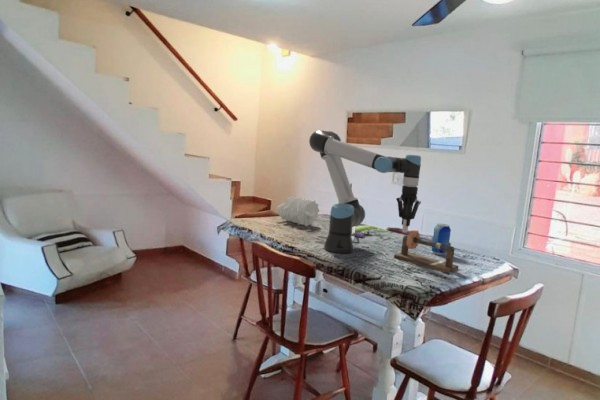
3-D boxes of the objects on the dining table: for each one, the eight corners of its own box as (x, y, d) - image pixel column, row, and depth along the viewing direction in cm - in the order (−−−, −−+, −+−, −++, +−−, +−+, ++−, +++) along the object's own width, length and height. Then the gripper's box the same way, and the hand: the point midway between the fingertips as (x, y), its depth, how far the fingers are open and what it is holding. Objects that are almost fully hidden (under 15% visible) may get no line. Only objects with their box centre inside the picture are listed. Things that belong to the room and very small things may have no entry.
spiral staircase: (289, 225, 295) (316, 231, 277) (272, 216, 282) (299, 221, 265) (298, 201, 299) (325, 205, 281) (282, 190, 286) (309, 194, 269)
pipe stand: (446, 272, 196) (449, 248, 195) (394, 257, 216) (396, 235, 214) (458, 268, 205) (461, 245, 203) (406, 254, 224) (409, 233, 223)
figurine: (391, 238, 263) (392, 229, 262) (352, 238, 253) (353, 229, 252) (375, 231, 280) (376, 223, 279) (338, 231, 270) (339, 223, 269)
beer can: (439, 256, 227) (443, 226, 225) (427, 251, 235) (431, 223, 232) (450, 255, 231) (454, 226, 229) (439, 251, 239) (443, 223, 236)
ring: (409, 249, 211) (411, 231, 210) (405, 248, 213) (407, 231, 212) (418, 247, 218) (420, 230, 216) (415, 246, 219) (417, 229, 218)
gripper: (425, 187, 213) (420, 233, 216) (402, 184, 222) (397, 228, 225) (418, 187, 208) (412, 235, 211) (394, 184, 217) (389, 230, 220)
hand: (404, 231), depth 218 cm, fingers closed
